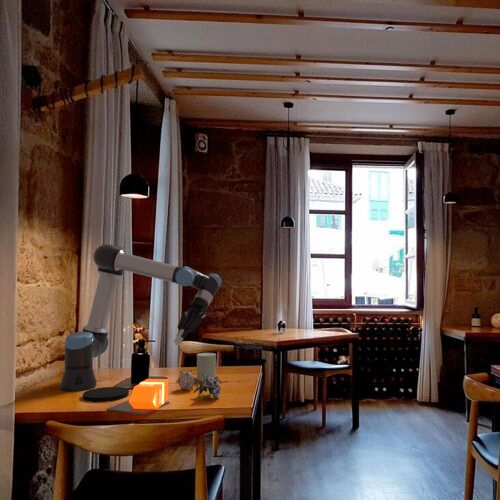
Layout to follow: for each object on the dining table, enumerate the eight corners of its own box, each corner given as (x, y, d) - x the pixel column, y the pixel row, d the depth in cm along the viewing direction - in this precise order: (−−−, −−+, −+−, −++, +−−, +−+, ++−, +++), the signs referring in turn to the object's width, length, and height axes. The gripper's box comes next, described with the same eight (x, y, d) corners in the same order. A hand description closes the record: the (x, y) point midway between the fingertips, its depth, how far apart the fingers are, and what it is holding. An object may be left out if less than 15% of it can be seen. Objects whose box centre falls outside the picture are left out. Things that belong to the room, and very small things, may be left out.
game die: (188, 399, 189) (191, 383, 184) (171, 391, 191) (173, 375, 185) (198, 385, 196) (201, 369, 191) (181, 377, 198) (183, 361, 193)
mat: (107, 410, 161) (107, 408, 161) (134, 399, 175) (134, 397, 175) (144, 415, 154) (144, 413, 154) (169, 403, 169) (169, 401, 169)
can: (219, 378, 213) (219, 352, 214) (208, 381, 205) (208, 355, 206) (204, 376, 218) (204, 351, 219) (192, 379, 210) (192, 353, 211)
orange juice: (168, 399, 173) (152, 413, 153) (146, 398, 174) (127, 413, 154) (168, 378, 174) (153, 390, 154) (146, 378, 175) (128, 390, 155)
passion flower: (216, 412, 175) (221, 391, 169) (189, 408, 175) (193, 387, 169) (219, 390, 185) (224, 370, 179) (194, 386, 184) (197, 365, 178)
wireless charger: (72, 400, 176) (72, 395, 176) (104, 390, 192) (104, 385, 192) (108, 405, 169) (108, 399, 169) (137, 394, 185) (137, 389, 185)
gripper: (216, 307, 202) (192, 350, 186) (194, 307, 209) (169, 347, 193) (209, 296, 197) (184, 338, 182) (186, 296, 204) (160, 336, 189)
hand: (176, 343), depth 188 cm, fingers closed
